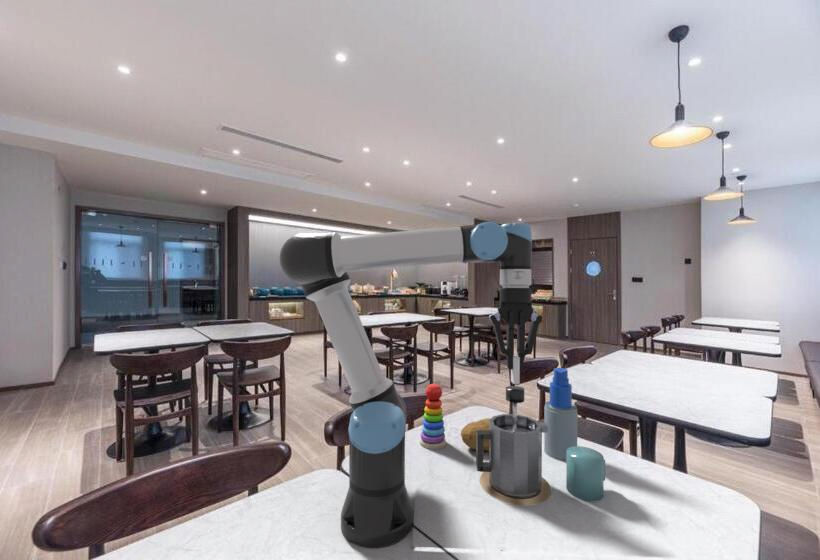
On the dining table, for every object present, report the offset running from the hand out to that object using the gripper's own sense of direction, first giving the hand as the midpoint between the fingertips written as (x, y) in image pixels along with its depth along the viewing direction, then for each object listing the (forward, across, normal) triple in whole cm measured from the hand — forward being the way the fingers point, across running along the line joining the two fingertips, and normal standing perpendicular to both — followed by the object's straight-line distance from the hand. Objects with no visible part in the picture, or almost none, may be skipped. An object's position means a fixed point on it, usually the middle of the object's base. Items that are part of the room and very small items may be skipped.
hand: (515, 382), depth 90 cm
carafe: (+25, 0, 0) cm, 25 cm away
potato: (+26, -4, +19) cm, 32 cm away
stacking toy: (+26, -20, +21) cm, 39 cm away
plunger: (+14, 0, 0) cm, 14 cm away
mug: (+26, +16, -2) cm, 30 cm away
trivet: (+26, 0, 0) cm, 26 cm away
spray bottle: (+26, +17, +17) cm, 35 cm away
